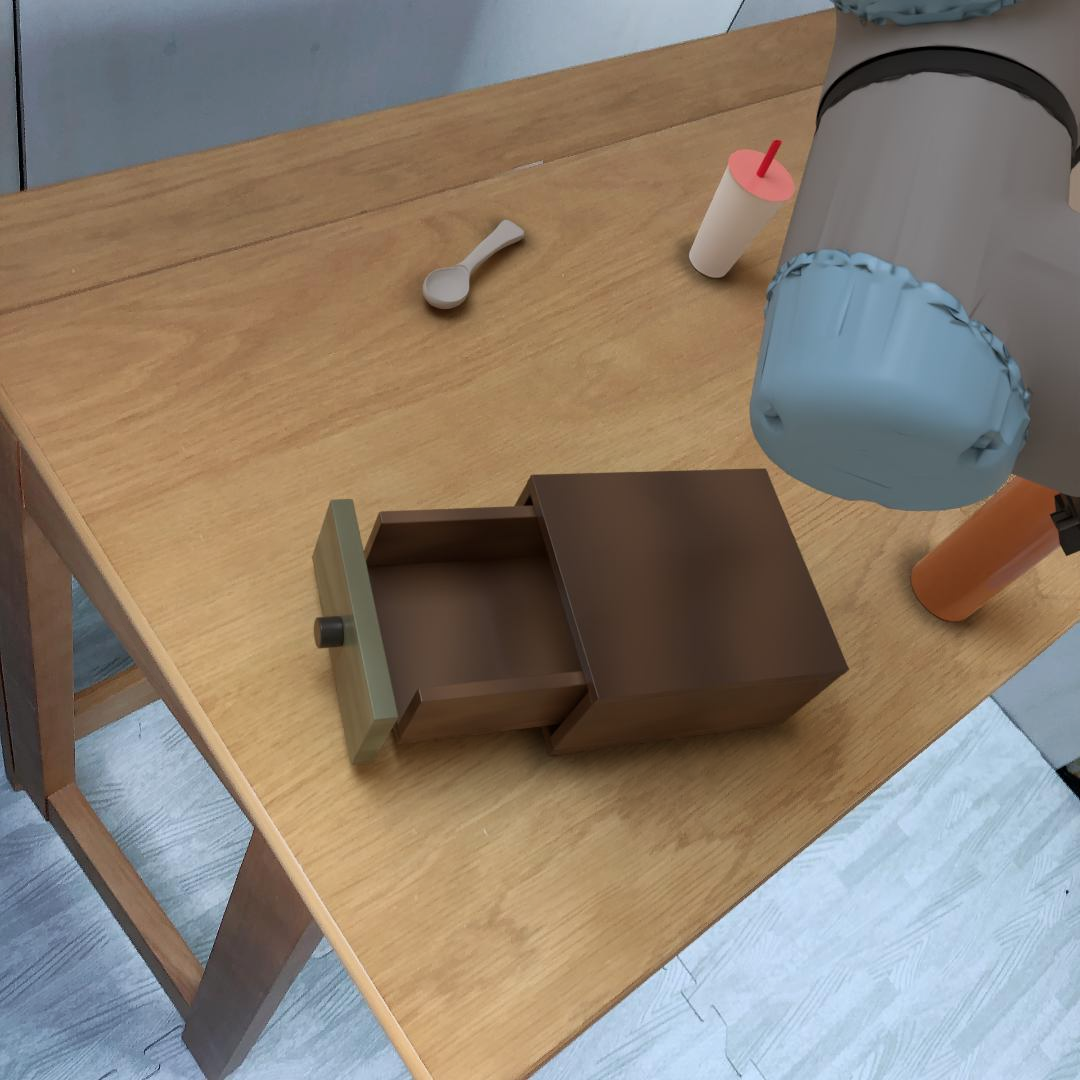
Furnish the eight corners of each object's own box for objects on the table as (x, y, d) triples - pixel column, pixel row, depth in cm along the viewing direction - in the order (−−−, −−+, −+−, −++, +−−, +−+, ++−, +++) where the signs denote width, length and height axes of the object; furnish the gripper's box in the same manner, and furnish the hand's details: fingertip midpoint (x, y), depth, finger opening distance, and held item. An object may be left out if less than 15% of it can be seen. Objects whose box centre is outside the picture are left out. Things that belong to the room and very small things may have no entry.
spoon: (408, 299, 78) (417, 277, 77) (494, 228, 86) (503, 207, 85) (444, 324, 78) (453, 303, 77) (526, 250, 86) (535, 230, 85)
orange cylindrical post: (976, 630, 80) (1123, 520, 68) (913, 610, 79) (1051, 496, 68) (969, 570, 82) (1109, 456, 71) (908, 550, 81) (1040, 432, 70)
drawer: (327, 769, 58) (349, 723, 54) (290, 557, 64) (307, 499, 59) (604, 732, 64) (645, 688, 60) (548, 543, 70) (581, 490, 66)
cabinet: (548, 756, 64) (598, 698, 58) (491, 545, 70) (530, 474, 64) (782, 724, 70) (849, 669, 64) (711, 533, 76) (765, 467, 70)
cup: (664, 245, 91) (734, 121, 81) (710, 231, 94) (782, 110, 84) (706, 294, 89) (782, 173, 80) (751, 278, 92) (830, 160, 83)
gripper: (790, 36, 51) (874, 290, 69) (1046, 509, 39) (1067, 667, 57) (955, -56, 49) (997, 230, 67) (1277, 413, 37) (1224, 608, 55)
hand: (1029, 432), depth 62 cm, fingers open, 13 cm apart
